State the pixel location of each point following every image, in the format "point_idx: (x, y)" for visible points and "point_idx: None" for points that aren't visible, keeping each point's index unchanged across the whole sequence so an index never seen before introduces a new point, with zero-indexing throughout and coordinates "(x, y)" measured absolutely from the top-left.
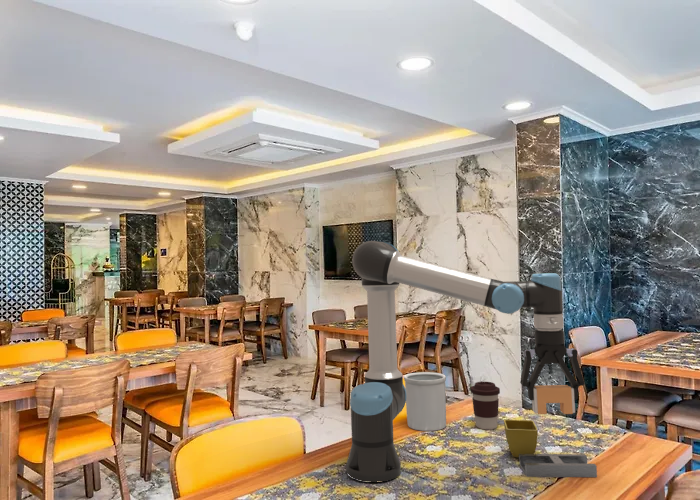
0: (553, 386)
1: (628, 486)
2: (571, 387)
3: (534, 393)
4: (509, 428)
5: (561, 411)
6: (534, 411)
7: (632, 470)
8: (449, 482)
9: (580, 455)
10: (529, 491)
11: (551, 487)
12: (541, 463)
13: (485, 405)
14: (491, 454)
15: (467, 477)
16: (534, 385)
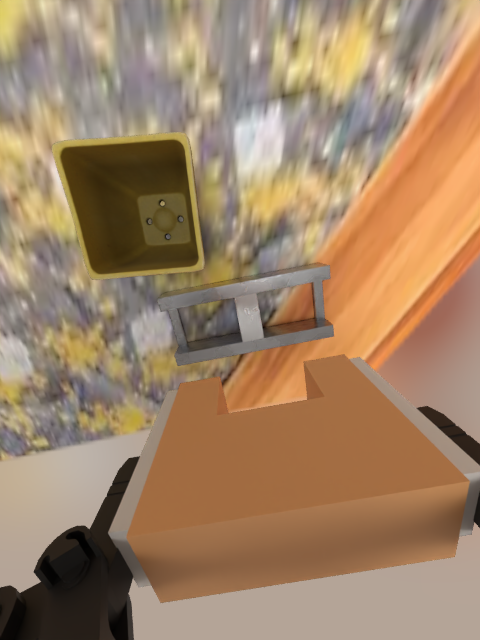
0: (313, 543)
1: (367, 355)
2: (472, 506)
3: None
4: (97, 161)
5: (305, 376)
6: None
7: (413, 272)
8: (38, 409)
9: (315, 277)
10: None
11: (227, 388)
12: (212, 349)
13: None
14: None
15: (65, 382)
16: (132, 632)
